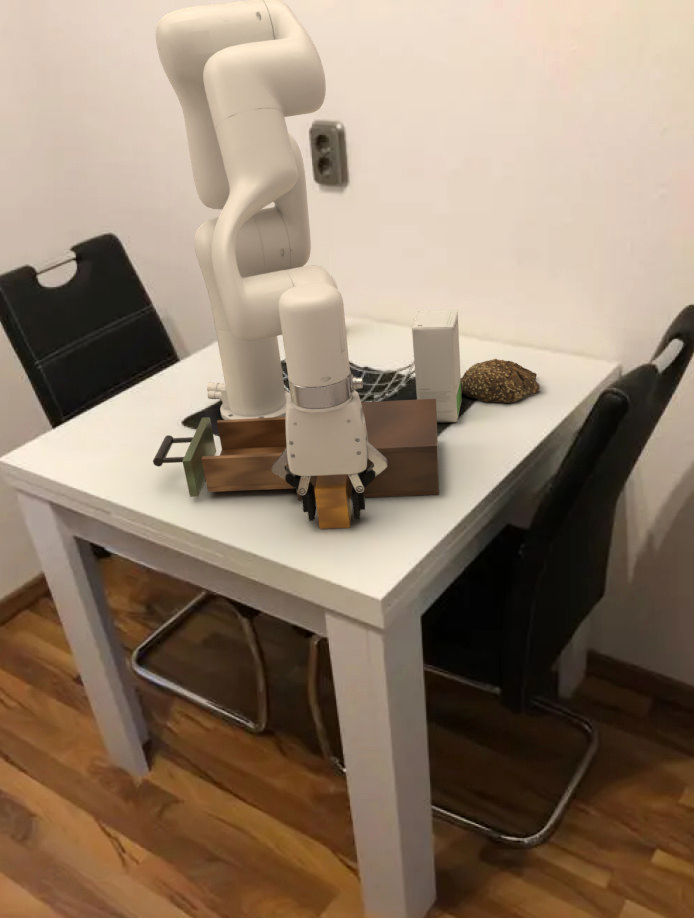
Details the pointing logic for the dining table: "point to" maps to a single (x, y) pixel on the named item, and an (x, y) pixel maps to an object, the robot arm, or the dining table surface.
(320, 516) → the block
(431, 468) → the cabinet
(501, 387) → the bread roll
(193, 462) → the drawer
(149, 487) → the dining table surface
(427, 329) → the cosmetic box
